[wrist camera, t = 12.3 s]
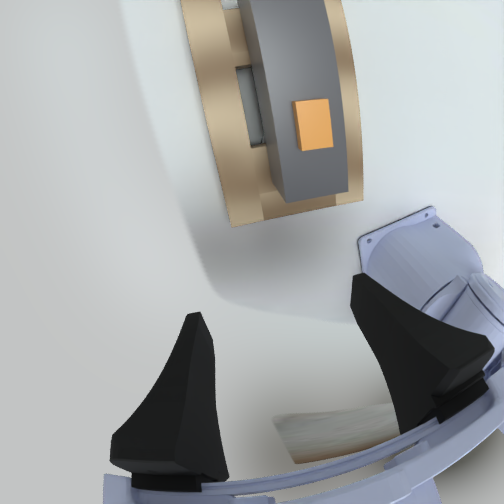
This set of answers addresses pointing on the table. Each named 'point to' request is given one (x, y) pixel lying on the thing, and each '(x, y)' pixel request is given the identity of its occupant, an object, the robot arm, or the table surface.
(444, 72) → the table surface
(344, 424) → the table surface
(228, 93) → the keyhole board
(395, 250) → the robot arm
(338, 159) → the grey block
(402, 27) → the table surface
